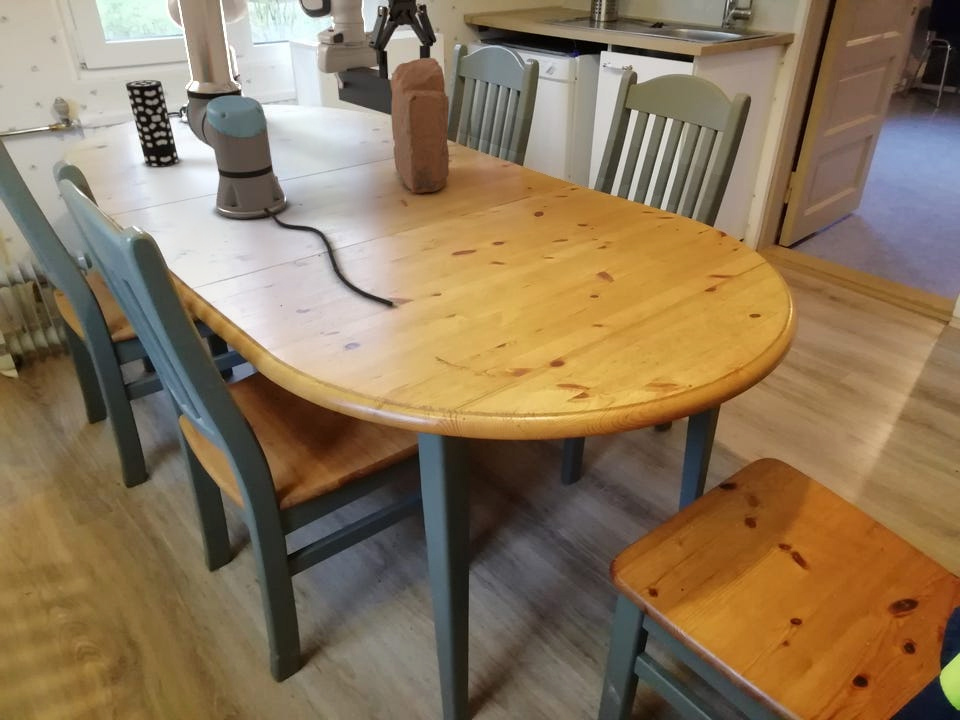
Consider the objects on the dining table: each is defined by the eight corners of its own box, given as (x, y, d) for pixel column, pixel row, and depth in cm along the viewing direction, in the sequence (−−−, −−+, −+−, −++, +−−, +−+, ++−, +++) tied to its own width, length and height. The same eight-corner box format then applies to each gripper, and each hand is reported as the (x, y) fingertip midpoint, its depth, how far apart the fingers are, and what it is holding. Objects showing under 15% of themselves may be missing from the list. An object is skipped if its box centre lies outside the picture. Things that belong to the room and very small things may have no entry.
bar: (415, 114, 187) (413, 78, 182) (398, 117, 184) (396, 81, 179) (355, 96, 203) (353, 63, 198) (339, 99, 200) (336, 66, 195)
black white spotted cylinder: (184, 157, 190) (167, 80, 179) (169, 166, 183) (151, 87, 172) (155, 156, 190) (136, 79, 179) (139, 165, 183) (119, 86, 172)
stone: (458, 191, 168) (455, 67, 154) (413, 195, 165) (406, 69, 151) (434, 168, 185) (430, 55, 171) (393, 172, 182) (386, 57, 168)
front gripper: (430, -20, 179) (431, 68, 190) (350, -17, 164) (356, 78, 175) (449, -18, 174) (449, 72, 185) (369, -15, 159) (374, 82, 170)
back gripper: (372, 29, 198) (375, 80, 205) (311, 35, 186) (317, 89, 193) (386, 31, 194) (388, 83, 202) (324, 38, 182) (330, 93, 189)
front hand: (404, 75), depth 180 cm, fingers open, 13 cm apart
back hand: (353, 86), depth 197 cm, fingers closed on bar, 6 cm apart
